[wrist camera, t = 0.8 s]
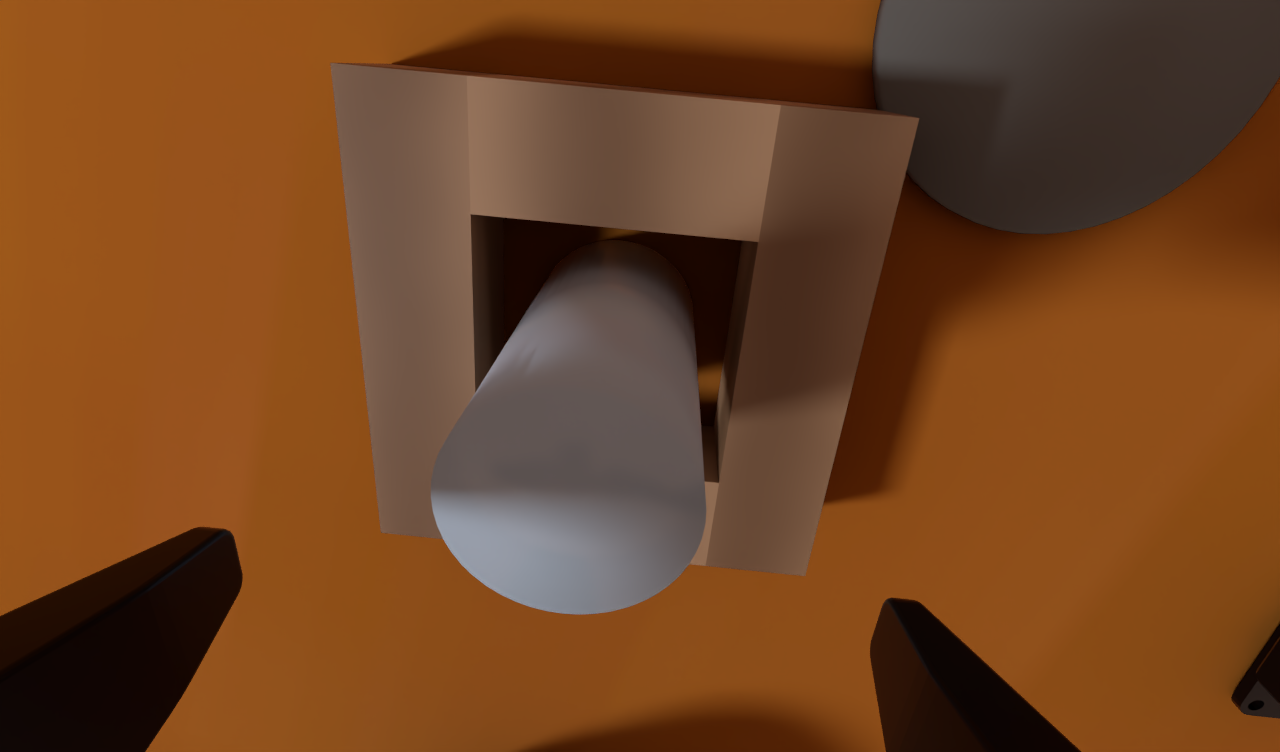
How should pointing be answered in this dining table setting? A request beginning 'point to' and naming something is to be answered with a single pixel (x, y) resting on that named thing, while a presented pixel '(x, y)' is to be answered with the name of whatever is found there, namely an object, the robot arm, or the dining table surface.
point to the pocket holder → (625, 199)
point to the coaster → (1069, 99)
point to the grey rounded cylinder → (583, 441)
